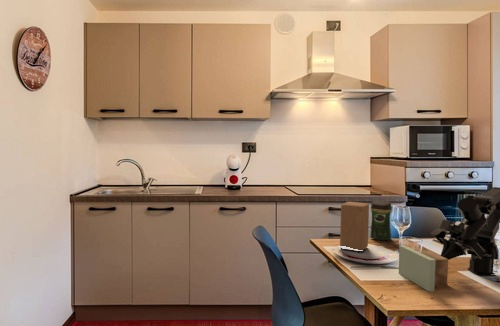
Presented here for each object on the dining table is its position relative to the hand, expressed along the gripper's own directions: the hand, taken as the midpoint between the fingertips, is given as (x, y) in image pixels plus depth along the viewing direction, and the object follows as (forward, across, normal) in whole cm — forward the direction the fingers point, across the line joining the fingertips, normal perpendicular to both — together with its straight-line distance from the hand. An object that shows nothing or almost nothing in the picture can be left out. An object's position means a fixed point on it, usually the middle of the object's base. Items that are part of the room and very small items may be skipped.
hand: (440, 260), depth 120 cm
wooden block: (+13, -39, -4) cm, 41 cm away
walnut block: (+8, 0, +2) cm, 8 cm away
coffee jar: (-2, -52, +11) cm, 53 cm away
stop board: (+11, 0, -2) cm, 11 cm away
